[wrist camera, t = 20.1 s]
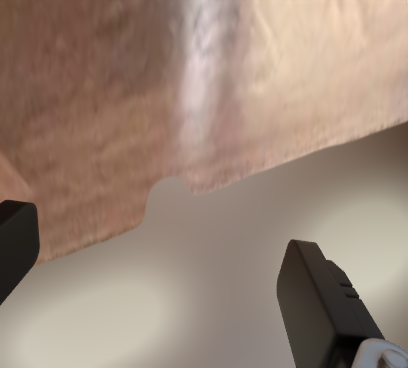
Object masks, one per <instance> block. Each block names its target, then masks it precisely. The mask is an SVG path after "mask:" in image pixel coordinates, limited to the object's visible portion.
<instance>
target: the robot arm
mask: <svg viewBox="0 0 408 368" xmlns="http://www.w3.org/2000/svg"><path fill="white" fill-rule="evenodd" d="M39 249H40V243H39V230H38V217H37V208H36V206H35V204H33V203H28V202H21V201H14V200H5V201H3V202H2V203H0V305H1V304H2V303H3V302H4V300H5V299H6V298H7V296H9V294H10V293H11V292H12V290H14V288H15V287H16V286H17V285H18V283H19V282H20V281H21V280H22V279H23V277H24V276H25V275H26V274H27V273H28V271H29V270H30V269H31V268H32V267H33V265H34V264H35V262H36V260H37V257H38V254H39ZM277 298H278V302H279V306H280V309H281V313H282V317H283V321H284V324H285V328H286V332H287V335H288V339H289V343H290V346H291V350H292V354H293V357H294V361H295V365H296V368H408V352H407V351H406V350H405V349H403V348H401V347H400V346H398V345H396V344H394V343H392V342H389V341H386V340H385V338H384V337H383V335H382V333H381V332H380V330H379V328H378V327H377V325H376V323H375V322H374V320H373V318H372V317H371V315H370V313H369V312H368V310H367V309H366V307H365V305H364V303H363V302H362V300H361V299H359V295H358V294H357V292H356V290H355V289H354V288H352V284H351V282H350V280H349V279H348V277H347V276H346V274H345V272H344V271H342V270H341V269H340V268H339V267H338V266H337V265H336V264H335V263H334V262H332V261H331V260H326V259H325V257H324V255H323V253H322V252H321V250H320V248H319V246H318V245H317V243H314V242H308V241H301V240H290V242H289V244H288V246H287V249H286V253H285V257H284V259H283V263H282V266H281V269H280V273H279V276H278V280H277Z"/></svg>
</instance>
